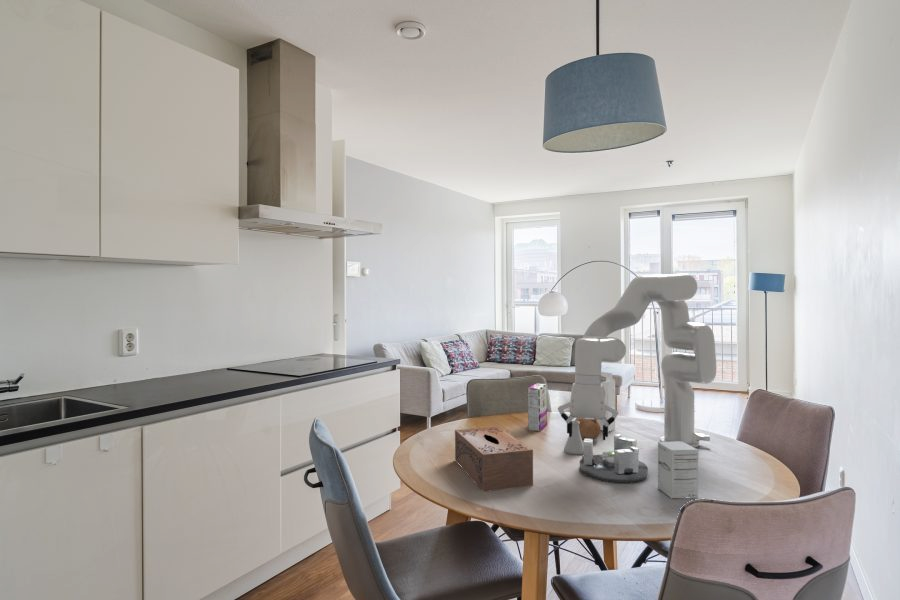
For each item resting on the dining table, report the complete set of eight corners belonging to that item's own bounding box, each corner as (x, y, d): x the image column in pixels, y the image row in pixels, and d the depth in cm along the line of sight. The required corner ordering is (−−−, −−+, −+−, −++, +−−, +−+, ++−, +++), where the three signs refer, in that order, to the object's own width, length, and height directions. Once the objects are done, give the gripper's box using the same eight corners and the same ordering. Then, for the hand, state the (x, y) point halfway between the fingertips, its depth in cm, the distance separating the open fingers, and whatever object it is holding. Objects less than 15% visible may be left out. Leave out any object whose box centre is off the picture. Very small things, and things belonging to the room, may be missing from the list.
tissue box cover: (455, 461, 159) (455, 429, 159) (498, 457, 163) (498, 426, 163) (483, 492, 134) (483, 454, 134) (533, 486, 138) (532, 449, 138)
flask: (586, 456, 163) (586, 425, 163) (563, 454, 165) (563, 424, 165) (585, 449, 171) (585, 419, 170) (563, 447, 172) (563, 418, 172)
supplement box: (656, 488, 136) (656, 441, 136) (683, 487, 137) (683, 440, 136) (671, 499, 129) (671, 449, 128) (699, 498, 129) (699, 449, 129)
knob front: (594, 458, 153) (594, 437, 153) (594, 465, 147) (594, 442, 147) (582, 457, 154) (582, 436, 154) (581, 464, 149) (581, 441, 148)
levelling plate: (645, 464, 155) (645, 446, 155) (650, 486, 137) (650, 466, 137) (581, 458, 161) (581, 441, 161) (577, 479, 143) (577, 459, 143)
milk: (608, 432, 191) (608, 374, 191) (593, 429, 195) (593, 372, 195) (615, 429, 196) (615, 372, 195) (600, 426, 200) (600, 370, 199)
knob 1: (631, 462, 150) (631, 440, 150) (612, 457, 155) (612, 435, 155) (637, 459, 153) (637, 437, 152) (618, 454, 157) (618, 433, 157)
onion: (597, 449, 181) (610, 425, 179) (580, 446, 175) (593, 421, 174) (580, 433, 188) (592, 410, 187) (563, 430, 183) (575, 406, 182)
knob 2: (613, 470, 143) (613, 447, 143) (632, 468, 144) (632, 445, 144) (620, 474, 140) (620, 451, 140) (639, 473, 141) (639, 449, 141)
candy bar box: (535, 423, 204) (535, 383, 204) (547, 424, 202) (547, 383, 202) (527, 430, 194) (527, 387, 194) (540, 431, 192) (539, 388, 192)
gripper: (618, 379, 152) (617, 437, 152) (559, 376, 157) (558, 431, 157) (618, 383, 144) (618, 443, 144) (557, 379, 150) (556, 437, 150)
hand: (587, 437), depth 151 cm, fingers open, 9 cm apart
